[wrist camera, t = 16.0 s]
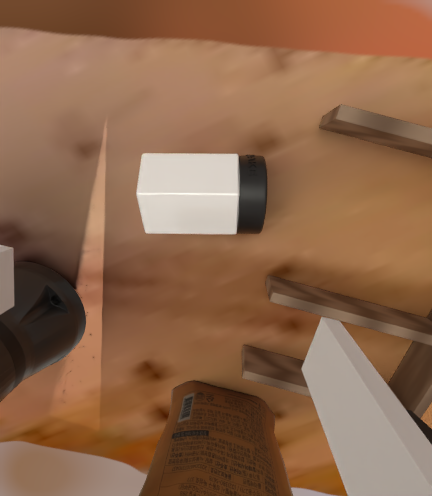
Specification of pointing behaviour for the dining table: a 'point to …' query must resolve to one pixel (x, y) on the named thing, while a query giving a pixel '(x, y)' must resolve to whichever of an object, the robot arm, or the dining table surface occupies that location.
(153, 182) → the jar
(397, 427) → the robot arm
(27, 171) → the dining table surface
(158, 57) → the dining table surface
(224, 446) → the pancake mix bag
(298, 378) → the lane organizer
